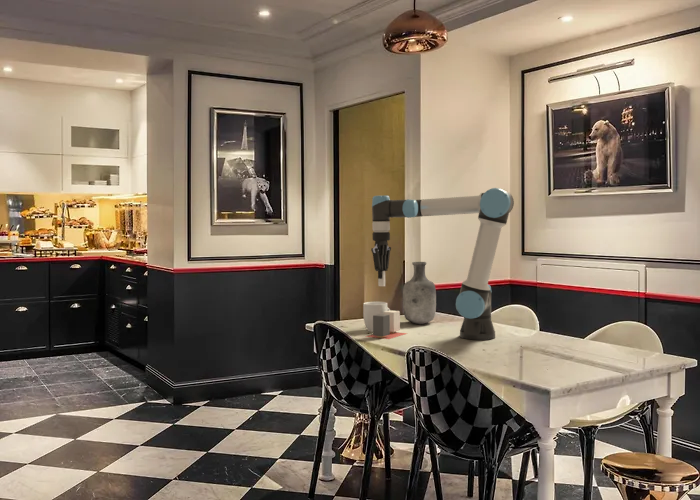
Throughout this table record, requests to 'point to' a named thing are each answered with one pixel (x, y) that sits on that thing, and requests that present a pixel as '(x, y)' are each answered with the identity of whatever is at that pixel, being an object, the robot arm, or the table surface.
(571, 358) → the table surface
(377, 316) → the dark gray block
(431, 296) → the vase
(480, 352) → the table surface
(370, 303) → the mug
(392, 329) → the stand
